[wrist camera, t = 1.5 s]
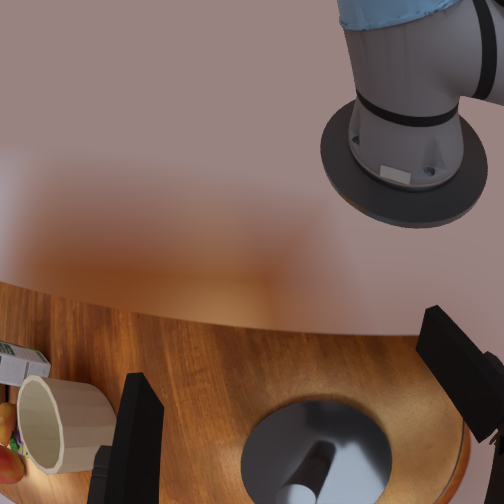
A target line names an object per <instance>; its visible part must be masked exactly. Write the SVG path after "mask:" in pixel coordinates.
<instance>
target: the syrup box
mask: <svg viewBox="0 0 504 504" xmlns="http://www.w3.org/2000/svg"><path fill="white" fill-rule="evenodd" d="M50 368H51V364H50V363H49V362H48V361H47V359H46V358H45V357H44V356H43V354H42V353H41V352H40V351H39V350H35V349H31V348H27V347H23V346H19V345H15V344H12V343H8V342H5V341H1V340H0V383H2V384H8V385H13V386H19V387H21V386H22V383H23V381H24V380H25V379H26V378H27V377H28V376H30V375H37V376H42V377H49V372H50Z"/></svg>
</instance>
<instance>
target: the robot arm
mask: <svg viewBox="0 0 504 504" xmlns="http://www.w3.org/2000/svg"><path fill="white" fill-rule="evenodd" d="M337 3H338V7H339V13H340V16H339V22H340V25H341V26H342V27H343V29H344V34H345V38H346V42H347V46H348V51H349V55H350V60H351V65H352V70H353V75H354V81H355V86H356V93H357V97H356V101H355V105H354V109H353V113H352V116H351V120H350V124H349V131H348V140H349V146H350V151H351V154H352V157H353V159H354V161H355V162H356V164H357V165H358V167H359V168H360V169H361V170H362V171H363V172H364V173H365V174H366V175H367V176H369V177H370V178H371V179H373V180H374V181H376V182H378V183H380V184H382V185H384V186H386V187H389V188H391V189H395V190H398V191H403V192H411V193H421V192H429V191H433V190H436V189H439V188H441V187H443V186H445V185H446V184H448V183H449V182H450V181H452V180H453V178H454V177H455V176H456V175H457V173H458V171H459V169H460V166H461V162H462V159H463V154H464V143H463V136H462V130H461V125H460V119H459V114H458V104H459V98H460V96H466V97H471V98H476V99H480V100H484V101H487V102H491V103H495V104H499V105H502V106H504V0H337ZM416 351H417V352H418V354H419V355H420V357H421V358H422V359H423V361H424V362H425V363H426V365H427V366H428V368H429V369H430V370H431V372H432V373H433V375H434V376H435V377H436V379H437V380H438V382H439V383H440V385H441V386H442V388H443V389H444V390H445V392H446V393H447V395H448V396H449V398H450V399H451V401H452V402H453V404H454V405H455V407H456V408H457V410H458V411H459V413H460V414H461V416H462V417H463V419H464V421H465V422H466V424H467V425H468V427H469V428H470V430H471V432H472V433H473V435H474V436H475V438H476V440H477V441H478V443H480V442H482V441H483V440H484V439H486V438H487V437H489V436H490V435H491V434H492V433H493V432H494V430H495V429H496V428H497V429H498V432H497V433H496V434H495V435H494V437H493V438H492V439H491V441H490V443H489V444H490V445H491V444H492V443H493V442H494V441H495V440H496V442H495V443H494V445H495V453H494V459H493V465H492V470H491V475H490V481H489V485H488V489H487V494H486V498H485V502H484V504H504V366H503V364H502V362H501V361H500V360H499V359H498V358H497V356H495V355H493V354H492V353H490V352H488V351H487V352H486V353H484V354H483V353H482V352H481V351H480V350H479V349H478V348H477V346H476V345H475V344H474V343H473V342H472V341H471V340H470V339H469V338H468V337H467V335H466V334H465V333H464V332H463V331H462V330H461V329H460V328H459V327H458V326H457V325H456V324H455V322H453V320H452V319H451V318H450V317H449V316H448V315H447V314H446V313H445V312H444V311H443V310H442V309H441V308H440V307H439V306H438V305H436V306H433V307H430V308H427V309H426V310H425V314H424V319H423V323H422V327H421V331H420V335H419V339H418V342H417V346H416ZM163 417H164V406H163V405H162V403H161V402H160V400H159V399H158V397H157V396H156V394H155V392H154V391H153V389H152V388H151V386H150V384H149V383H148V381H147V379H146V378H145V376H144V374H143V373H142V372H140V373H128V374H127V376H126V380H125V385H124V389H123V393H122V398H121V402H120V407H119V411H118V416H117V421H116V426H115V431H114V437H113V442H112V446H108V445H101V446H100V448H99V449H98V451H97V453H96V454H95V458H94V463H93V467H94V468H93V469H92V477H91V480H90V487H89V493H88V500H87V504H159V477H160V457H161V442H162V429H163Z"/></svg>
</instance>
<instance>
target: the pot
mask: <svg viewBox="0 0 504 504" xmlns="http://www.w3.org/2000/svg"><path fill="white" fill-rule="evenodd" d="M17 416H18V426H19V430H20V435H21V439H22V442H23V444H24V447H25V449H26V451H27V453H28V455H29V457H30V458H31V460H32V461H33V463H34V464H35V465H36V467H37V468H38V469H40V470H41V471H43V472H44V473H46V474H63V473H74V472H83V471H90V470H92V469H93V468H94V467H93V463H94V458H95V454H96V453H97V451H98V449H99V448H100V446H101V445H108V446H112V442H113V437H114V431H115V426H116V421H117V420H116V416H115V413H114V411H113V409H112V406H111V404H110V403H109V401H108V399H107V398H106V396H105V395H104V394H103V393H102V392H101V391H100V390H99V389H98V388H97V387H95V386H93V385H91V384H87V383H80V382H73V381H66V380H60V379H54V378H48V377H42V376H37V375H30V376H28V377H27V378H26V379H25V380H24V381H23V383H22V386H21V388H20V390H19V395H18V402H17Z"/></svg>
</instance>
